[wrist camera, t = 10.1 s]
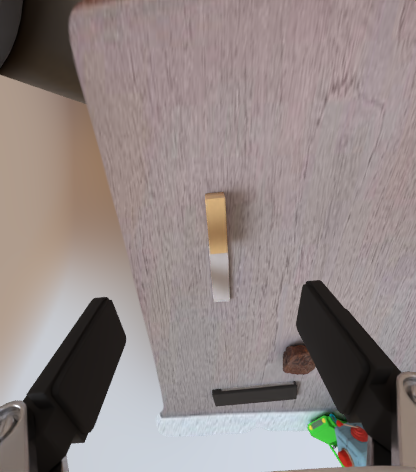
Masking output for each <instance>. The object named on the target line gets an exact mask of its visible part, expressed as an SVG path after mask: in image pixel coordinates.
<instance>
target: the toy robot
mask: <svg viewBox="0 0 416 472" xmlns="http://www.w3.org/2000/svg"><path fill="white" fill-rule="evenodd" d="M336 424H337V426H336V427H335V434H336V440H337V445H338V451H339V452H338V456H339V459H340V461H341V463H342V464H343V465H344V466H345V467H362V466H366V458H367V441H368V435H367V433H366V431H365V429H364V428H363V426H362V424H361V423H348V422H347V423H344V424H343V423H341V422H340V421H339V420H337V421H336Z"/></svg>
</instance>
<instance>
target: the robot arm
mask: <svg viewBox="0 0 416 472" xmlns="http://www.w3.org/2000/svg"><path fill="white" fill-rule="evenodd" d="M296 326H297V330H298V332H299V334H300V336H301V338H302V340H303V342H304V344H305V346H306V348H307V350H308V352H309V354H310V356H311V358H312V360H313V362H314V364H315V366H316V368H317V370H318V372H319V374H320V376H321V378H322V380H323V382H324V384H325V386H326V388H327V390H328V392H329V394H330V396H331V398H332V400H333V402H334V404H335V406H336V407H337V409H338V411H339V412H340V413H341V414H344V415H345V417H346V419H347V421H348V423H361V424H362V426H363V428H364V429H365V431H366V433H367V435H368V441H367V458H366V466H362V467H339V468H338V467H337V468H319V469H305V470H288V471H273V472H416V373H415V372H408V371H407V372H402V373H401V371H400V370H399V369H398V368H397V367H396V366H395V364H394V363H393V362H392V361H391V360H390V359H389V358H388V356H387V355H386V354H385V353H384V352H383V351H382V349H381V348H380V347H379V346H378V345H377V344H376V342H375V341H374V340H373V339H372V338H371V337H370V335H369V334H368V333H367V332H366V331H365V330H364V328H363V327H362V326H361V325H360V324H359V323H358V322H357V320H356V319H355V318H354V317H353V316H352V315H351V313H350V312H349V311H348V310H347V309H345V308H344V307H343V306H342V305H341V304H340V302H339V301H338V300H337V299H336V298H335V296H334V295H333V294H332V293H331V292H330V291H329V289H328V288H327V287H326V286H325V285H324V284H323V282H322V281H320V280H317V281H307V282H306V284H305V285H303V287H302V292H301V298H300V304H299V310H298V315H297V321H296ZM125 343H126V335H125V333H124V330H123V328H122V325H121V322H120V320H119V317H118V315H117V312H116V310H115V307H114V304H113V302H112V300H109V299H108V298H107V297H101V298H94V299H93V300H92V301H91V302H90V304H89V305H88V307H87V308H86V309H85V311H84V312H83V314H82V315H81V317H80V318H79V320H78V321H77V323H76V324H75V325H74V327H73V328H72V330H71V331H70V332H69V334H68V335H67V337H66V338H65V340H64V341H63V343H62V344H61V346H60V347H59V348H58V350H57V351H56V353H55V354H54V356H53V357H52V358H51V360H50V362H49V363H48V365H47V366H46V367H45V369H44V370H43V371H42V373H41V374H40V376H39V377H38V379H37V380H36V382H35V383H34V384H33V386H32V387H31V389H30V390H29V392H28V393H27V396H26V398H25V399H24V400H23V402H22V401H12V402H9V403H6V404H5V405H3V406H1V407H0V472H69V470H68V463H67V456H66V454H67V452H68V449H69V447H70V445H71V443H84V442H85V440H86V437H87V435H88V433H89V432H91V430H92V429H93V428H94V425H95V423H96V420H97V418H98V415H99V412H100V410H101V407H102V404H103V402H104V399H105V396H106V394H107V391H108V389H109V386H110V383H111V381H112V378H113V375H114V373H115V370H116V367H117V365H118V362H119V359H120V357H121V354H122V352H123V349H124V346H125Z"/></svg>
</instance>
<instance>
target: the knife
mask: <svg viewBox="0 0 416 472" xmlns="http://www.w3.org/2000/svg"><path fill="white" fill-rule="evenodd" d="M205 203H206V214H207V225H208V236H209V245H208V247H209V258H210V268H211V279H212V290H213V301H214V302H223V301H230V286H229V264H228V244H227V225H226V204H225V196H224V193H223V192H219V193H207V194H205Z"/></svg>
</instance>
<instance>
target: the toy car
mask: <svg viewBox="0 0 416 472" xmlns="http://www.w3.org/2000/svg"><path fill="white" fill-rule="evenodd" d="M337 420H339V419H336V417H335V416H334V415H333V414H329V417H328V416H325V415H324V416H322V417H321V418H319V419H317V420H315V421H313V422H312V423H310V424H308V427H307V428H308V430H309V432H310V433H311V436H313V437H315V438H317V439H319V440H321V441H323V442H325V443H327V444H329V446H330V448H331V449H332V451H333V452H334V454H335V455H336V457H337V459H338V460H339V462H340V463H341V461H340V459H339V457H338V456H337V454H336V453H335V451H334V448H332V446H331V445H333V447H335V448H336V447H338V445H337V440H336V434H335V427H336V426H337V424H336V421H337ZM339 421H340V422H341V423H343V424H344V423H347V422H344V421H341V420H339ZM341 465H342V467H345V466H344V465H343V464H342V463H341Z"/></svg>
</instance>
